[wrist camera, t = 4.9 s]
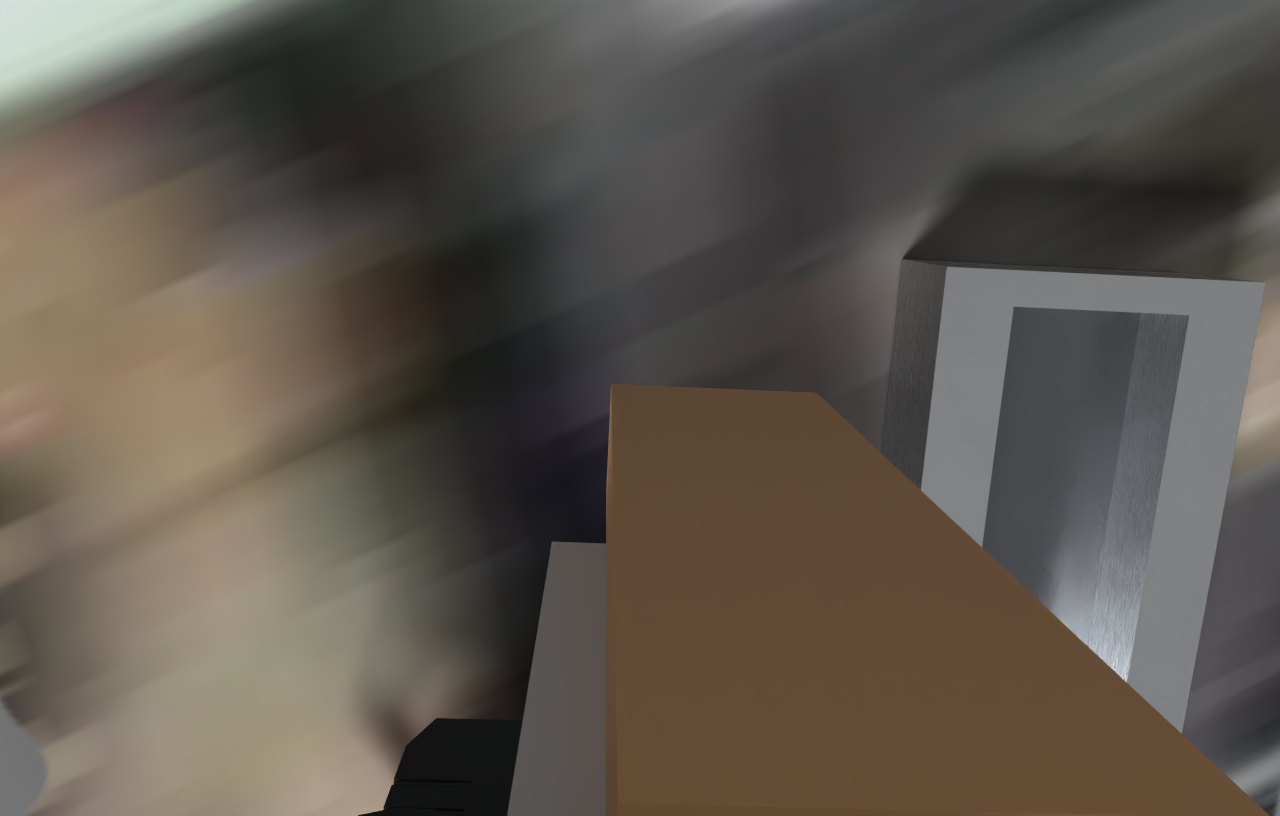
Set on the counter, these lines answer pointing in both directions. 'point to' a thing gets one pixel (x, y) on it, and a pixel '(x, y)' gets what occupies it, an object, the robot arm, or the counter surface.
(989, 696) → the cardboard-colored brick
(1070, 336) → the grey rectangular tray
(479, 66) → the counter surface
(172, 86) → the counter surface
